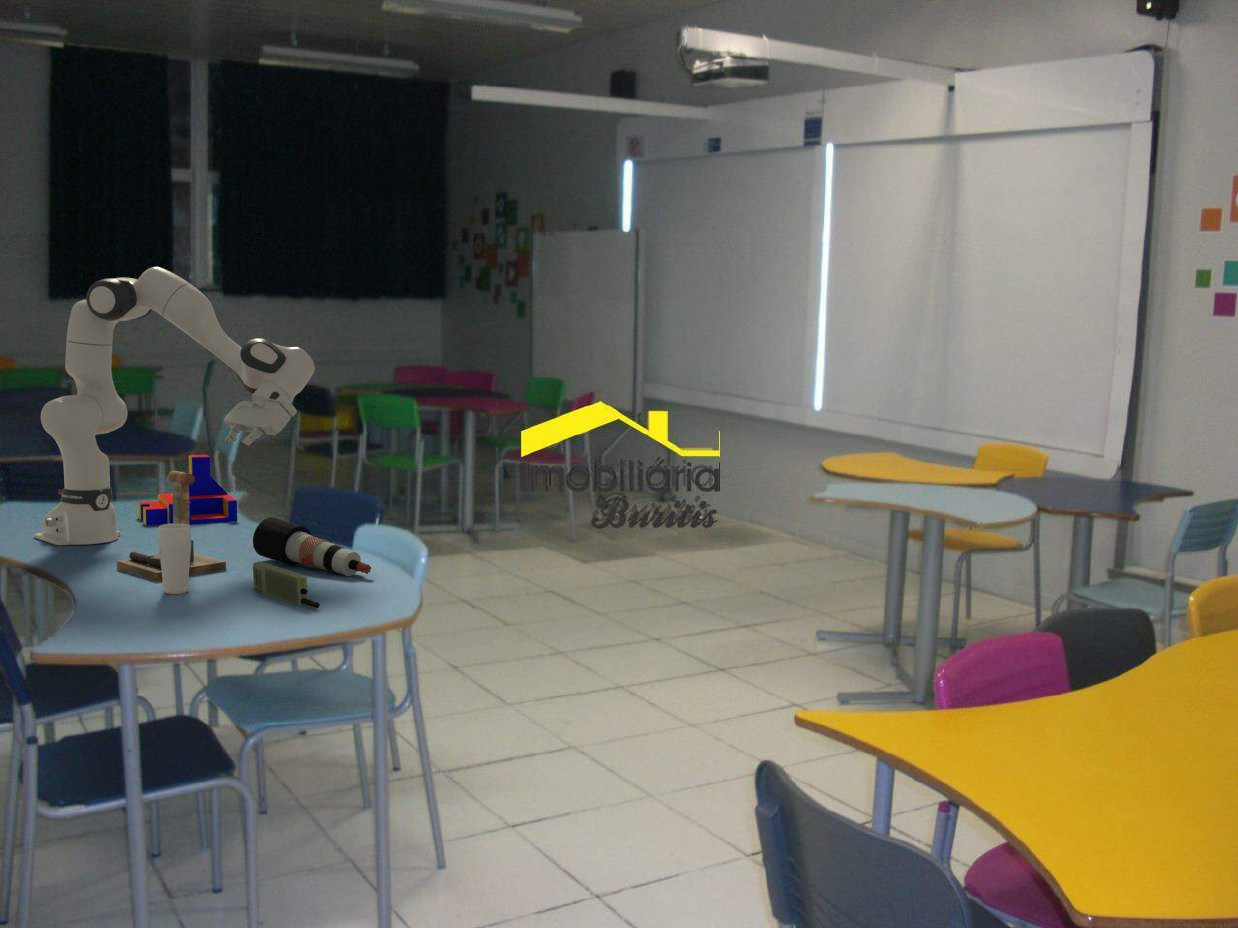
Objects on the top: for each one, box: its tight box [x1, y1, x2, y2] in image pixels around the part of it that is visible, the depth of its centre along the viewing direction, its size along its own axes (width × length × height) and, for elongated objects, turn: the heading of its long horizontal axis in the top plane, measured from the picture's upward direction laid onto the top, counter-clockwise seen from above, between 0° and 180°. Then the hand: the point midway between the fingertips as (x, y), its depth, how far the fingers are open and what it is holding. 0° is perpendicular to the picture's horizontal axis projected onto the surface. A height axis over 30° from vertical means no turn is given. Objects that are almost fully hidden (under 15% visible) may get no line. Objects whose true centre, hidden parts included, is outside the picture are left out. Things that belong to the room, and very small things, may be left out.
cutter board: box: [116, 539, 227, 582], centre depth 290 cm, size 18×18×7 cm
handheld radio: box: [252, 560, 321, 609], centre depth 264 cm, size 7×3×25 cm
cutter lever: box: [167, 470, 195, 525], centre depth 290 cm, size 3×7×20 cm, turn 50°
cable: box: [252, 516, 372, 577], centre depth 294 cm, size 10×34×10 cm, turn 58°
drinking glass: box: [157, 523, 192, 595], centre depth 267 cm, size 7×7×15 cm
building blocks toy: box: [137, 454, 238, 527], centre depth 355 cm, size 19×25×18 cm
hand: (236, 442), depth 300 cm, fingers open, 6 cm apart
